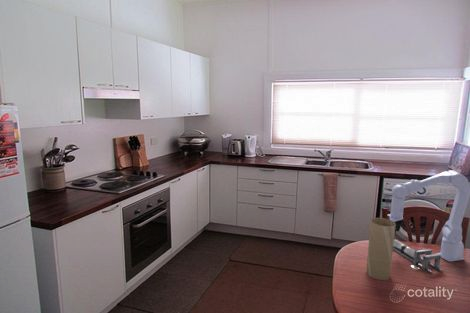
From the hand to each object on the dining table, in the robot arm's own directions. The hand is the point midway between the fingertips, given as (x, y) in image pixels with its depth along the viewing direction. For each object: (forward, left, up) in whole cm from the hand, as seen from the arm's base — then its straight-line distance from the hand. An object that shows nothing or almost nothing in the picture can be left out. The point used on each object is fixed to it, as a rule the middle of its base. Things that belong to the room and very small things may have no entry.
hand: (394, 233), depth 166 cm
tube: (+23, +17, -10) cm, 30 cm away
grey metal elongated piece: (-4, +4, -10) cm, 11 cm away
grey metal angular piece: (-2, +11, -10) cm, 15 cm away
